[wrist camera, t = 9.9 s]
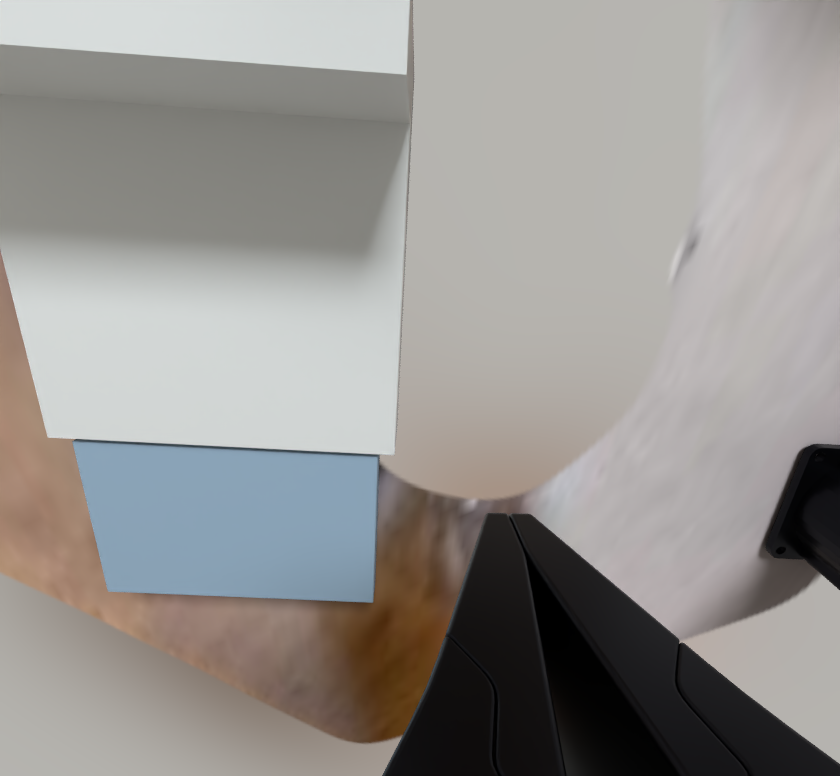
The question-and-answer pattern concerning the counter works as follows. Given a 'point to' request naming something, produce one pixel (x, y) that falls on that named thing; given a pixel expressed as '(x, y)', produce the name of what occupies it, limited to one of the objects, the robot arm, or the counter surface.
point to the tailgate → (232, 519)
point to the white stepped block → (209, 216)
